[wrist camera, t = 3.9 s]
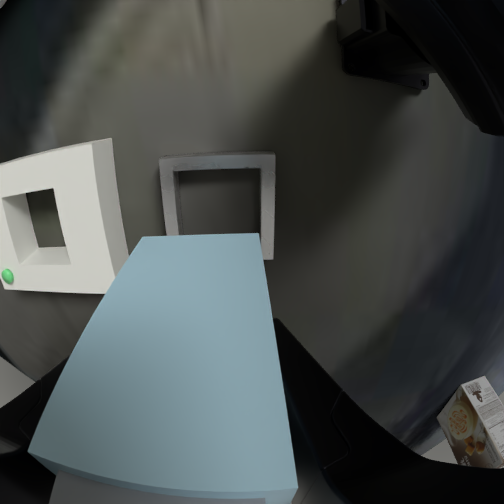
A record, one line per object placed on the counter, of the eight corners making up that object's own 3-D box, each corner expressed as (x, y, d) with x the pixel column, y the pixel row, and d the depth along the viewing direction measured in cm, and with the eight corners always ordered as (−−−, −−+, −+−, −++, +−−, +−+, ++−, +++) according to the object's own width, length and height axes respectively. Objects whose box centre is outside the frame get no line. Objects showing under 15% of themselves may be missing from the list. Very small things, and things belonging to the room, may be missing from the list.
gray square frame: (272, 151, 18) (275, 154, 16) (270, 249, 21) (273, 259, 19) (164, 155, 17) (158, 159, 16) (174, 251, 21) (170, 261, 19)
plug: (258, 233, 10) (305, 539, 2) (258, 325, 12) (280, 554, 4) (142, 236, 10) (14, 490, 2) (161, 326, 12) (113, 539, 4)
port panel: (111, 137, 17) (88, 144, 14) (132, 271, 21) (117, 297, 18) (-5, 165, 16) (-31, 176, 13) (21, 271, 21) (2, 291, 18)
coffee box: (461, 407, 37) (493, 474, 22) (435, 417, 36) (466, 490, 22) (485, 374, 32) (527, 445, 18) (459, 383, 32) (502, 464, 18)
